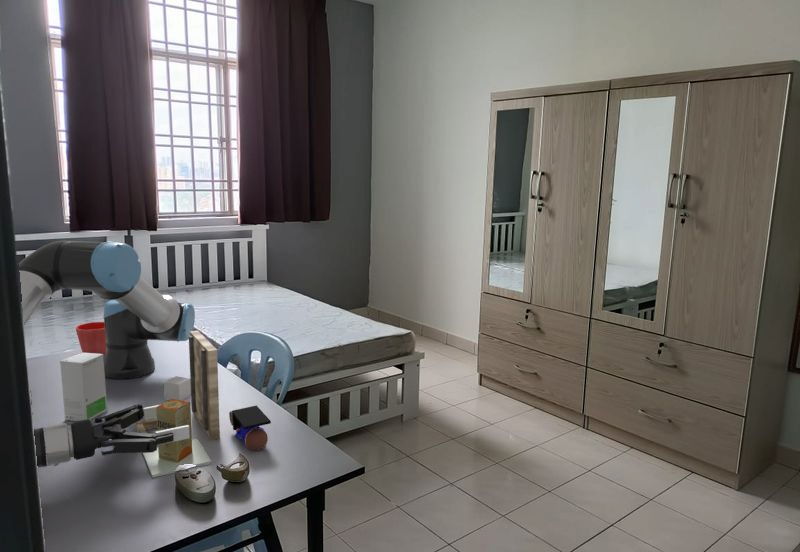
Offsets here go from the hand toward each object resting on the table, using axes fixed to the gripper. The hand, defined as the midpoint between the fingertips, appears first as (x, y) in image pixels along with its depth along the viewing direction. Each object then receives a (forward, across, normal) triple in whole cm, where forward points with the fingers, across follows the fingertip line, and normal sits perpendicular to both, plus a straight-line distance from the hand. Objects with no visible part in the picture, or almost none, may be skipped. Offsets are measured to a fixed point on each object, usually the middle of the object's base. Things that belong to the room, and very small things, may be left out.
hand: (181, 419), depth 127 cm
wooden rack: (+1, -14, -9) cm, 17 cm away
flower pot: (-9, -87, -9) cm, 88 cm away
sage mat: (-1, 0, -9) cm, 9 cm away
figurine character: (+15, -1, -9) cm, 18 cm away
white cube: (+7, -36, -9) cm, 37 cm away
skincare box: (-16, -34, -9) cm, 39 cm away
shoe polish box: (-1, 0, -9) cm, 9 cm away
